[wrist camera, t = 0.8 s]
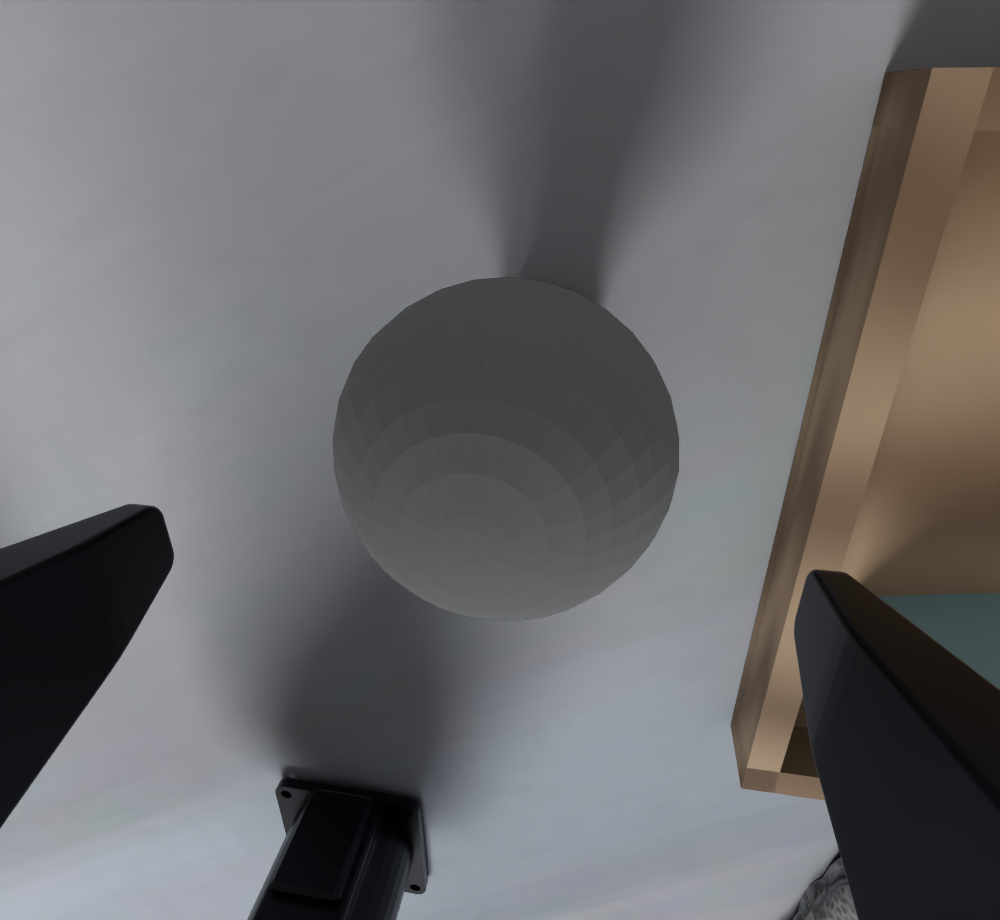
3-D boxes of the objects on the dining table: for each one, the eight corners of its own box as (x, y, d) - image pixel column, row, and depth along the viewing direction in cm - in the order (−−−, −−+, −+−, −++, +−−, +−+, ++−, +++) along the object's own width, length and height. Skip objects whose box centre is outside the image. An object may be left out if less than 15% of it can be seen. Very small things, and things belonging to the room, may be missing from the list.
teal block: (980, 695, 20) (1053, 817, 17) (839, 694, 21) (880, 810, 18) (1001, 592, 19) (1088, 704, 15) (846, 596, 20) (894, 703, 16)
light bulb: (646, 192, 16) (670, 302, 7) (670, 418, 18) (709, 699, 10) (413, 240, 17) (200, 379, 9) (466, 443, 20) (343, 706, 11)
